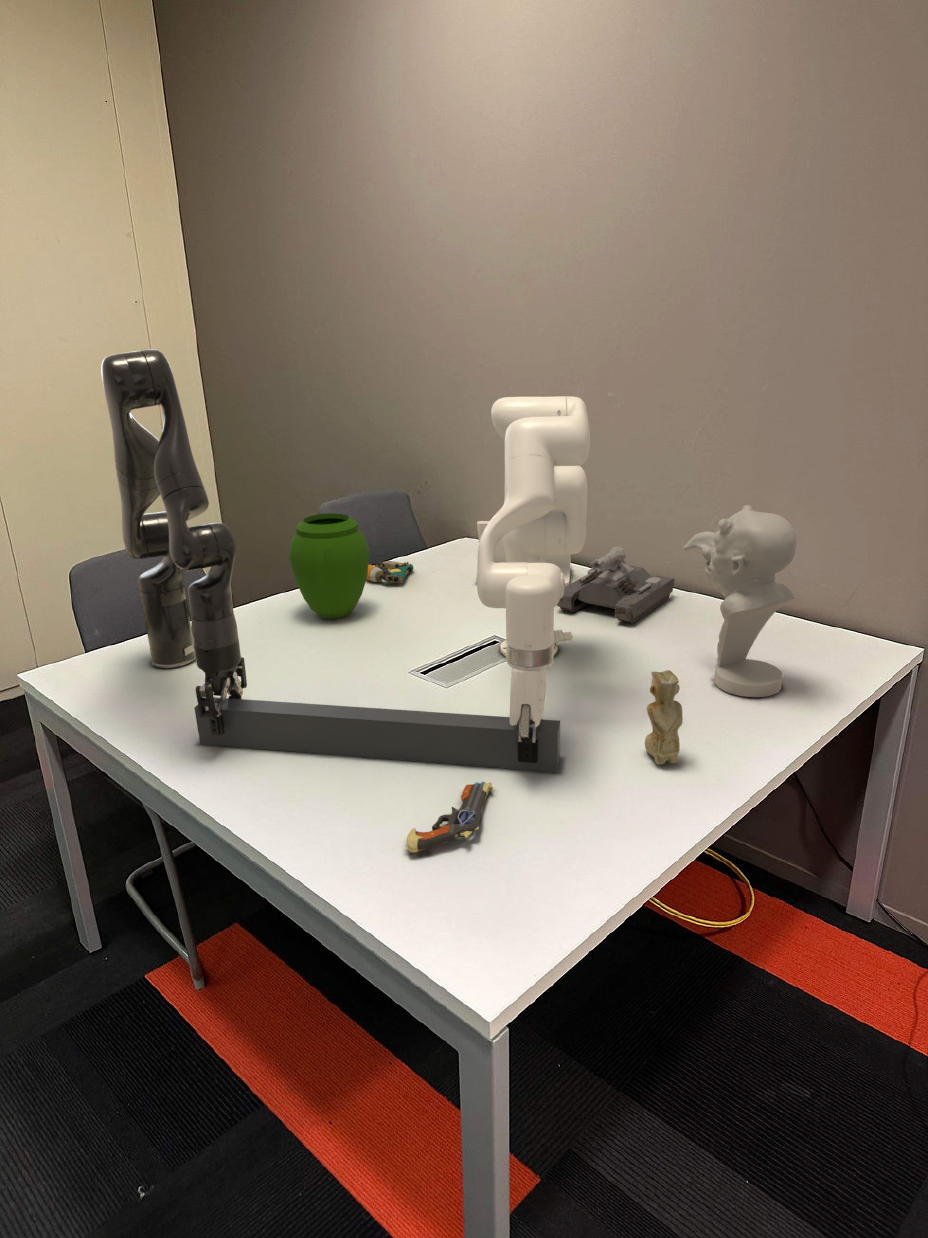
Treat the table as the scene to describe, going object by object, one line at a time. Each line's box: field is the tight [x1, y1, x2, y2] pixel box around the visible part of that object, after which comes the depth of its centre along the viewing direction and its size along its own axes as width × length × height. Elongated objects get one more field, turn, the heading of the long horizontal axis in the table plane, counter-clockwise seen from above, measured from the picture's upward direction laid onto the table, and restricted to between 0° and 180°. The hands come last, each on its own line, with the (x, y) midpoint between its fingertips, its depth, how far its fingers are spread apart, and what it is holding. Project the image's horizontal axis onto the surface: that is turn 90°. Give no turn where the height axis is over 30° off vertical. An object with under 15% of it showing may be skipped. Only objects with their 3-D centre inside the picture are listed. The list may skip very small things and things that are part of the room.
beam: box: [194, 696, 561, 773], centre depth 147 cm, size 64×4×7 cm, turn 79°
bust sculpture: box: [682, 504, 797, 698], centre depth 167 cm, size 16×24×35 cm, turn 28°
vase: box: [288, 512, 370, 620], centre depth 209 cm, size 20×20×24 cm
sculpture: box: [644, 669, 684, 765], centre depth 141 cm, size 6×7×15 cm
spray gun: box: [366, 560, 414, 584], centre depth 240 cm, size 4×17×15 cm
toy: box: [556, 546, 676, 624], centre depth 212 cm, size 25×20×15 cm
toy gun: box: [406, 781, 494, 853], centre depth 127 cm, size 3×19×10 cm
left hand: (227, 724), depth 153 cm, fingers open, 7 cm apart
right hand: (529, 752), depth 142 cm, fingers closed on beam, 4 cm apart
